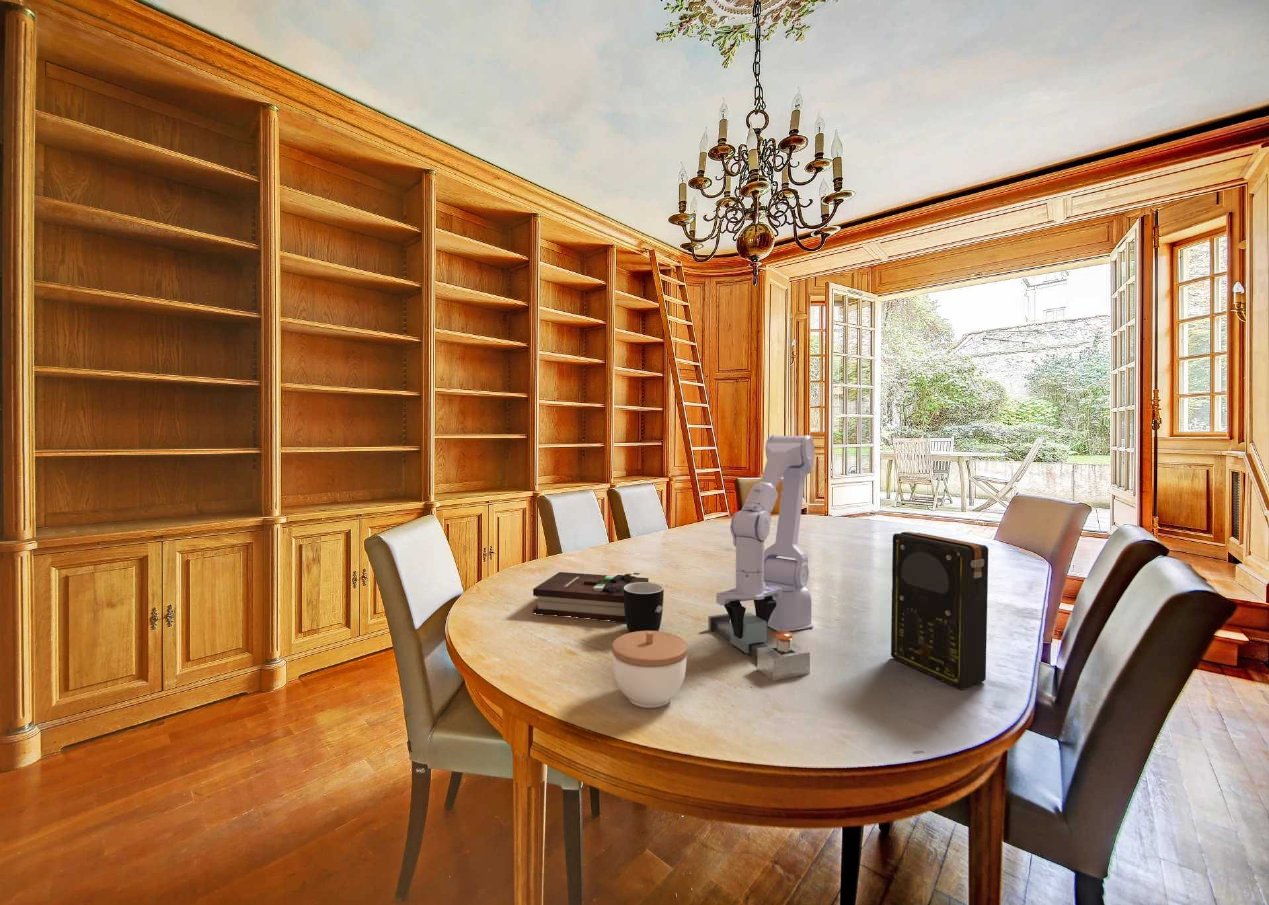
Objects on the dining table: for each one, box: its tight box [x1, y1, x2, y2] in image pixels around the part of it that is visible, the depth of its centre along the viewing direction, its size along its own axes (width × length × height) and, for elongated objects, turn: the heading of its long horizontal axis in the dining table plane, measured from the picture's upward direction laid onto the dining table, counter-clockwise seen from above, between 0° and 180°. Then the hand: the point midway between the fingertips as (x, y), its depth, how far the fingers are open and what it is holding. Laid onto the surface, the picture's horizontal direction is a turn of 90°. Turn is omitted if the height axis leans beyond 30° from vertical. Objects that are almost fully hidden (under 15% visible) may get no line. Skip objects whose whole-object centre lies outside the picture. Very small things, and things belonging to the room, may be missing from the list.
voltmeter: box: [890, 531, 989, 690], centre depth 99 cm, size 16×9×25 cm, turn 23°
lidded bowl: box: [611, 630, 688, 709], centre depth 90 cm, size 13×13×11 cm
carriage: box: [729, 612, 768, 654], centre depth 110 cm, size 5×6×6 cm
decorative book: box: [532, 571, 650, 623], centre depth 136 cm, size 19×8×30 cm
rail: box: [707, 613, 768, 660], centre depth 112 cm, size 5×22×3 cm, turn 21°
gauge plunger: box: [774, 630, 794, 655], centre depth 99 cm, size 3×3×5 cm
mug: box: [623, 582, 665, 633], centre depth 121 cm, size 12×9×10 cm
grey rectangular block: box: [756, 641, 811, 681], centre depth 99 cm, size 8×5×4 cm, turn 111°
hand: (749, 635), depth 110 cm, fingers closed on carriage, 5 cm apart
